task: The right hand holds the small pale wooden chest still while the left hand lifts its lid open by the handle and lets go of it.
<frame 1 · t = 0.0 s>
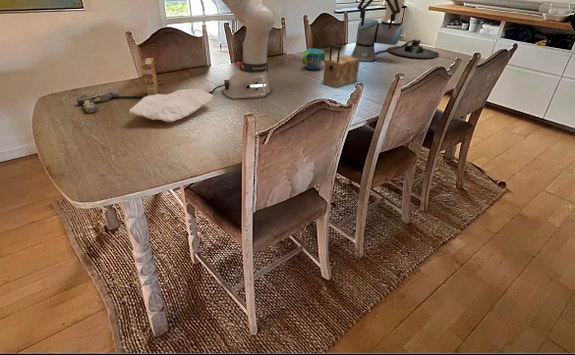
right hand: (375, 27, 178), 28 cm above the table, tool pointing down, fingers open, 13 cm apart
handgun: (101, 103, 156), on the table
dark round disc: (412, 52, 254), on the table
chest: (339, 82, 193), on the table
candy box: (153, 94, 167), on the table
lid: (343, 52, 184), point 15 cm above the table, hinge at 0.0°
crumpled cloth: (172, 113, 149), on the table
snack cup: (313, 68, 212), on the table
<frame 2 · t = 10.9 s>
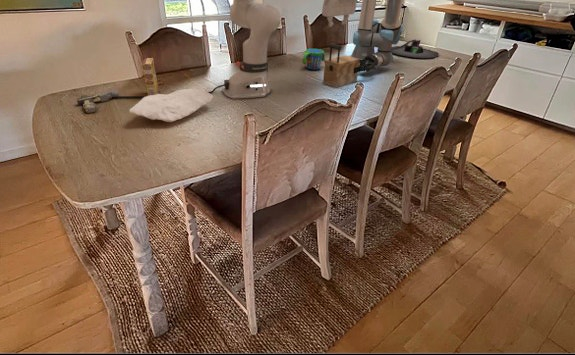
left hand: (337, 25, 173), 29 cm above the table, tool pointing down, fingers open, 8 cm apart
right hand: (347, 68, 192), 6 cm above the table, tool horizontal, fingers closed on chest, 9 cm apart
chest: (339, 82, 193), on the table, touching right hand
everything else where it was.
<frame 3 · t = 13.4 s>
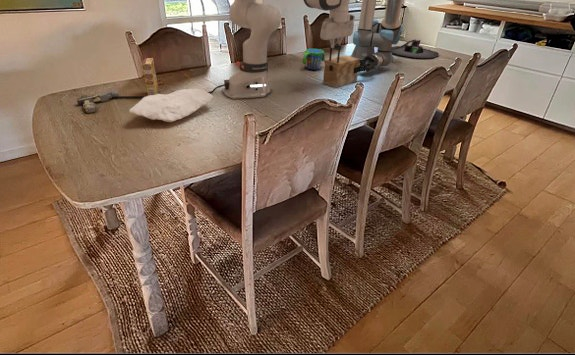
left hand: (335, 47, 179), 19 cm above the table, tool pointing down, fingers closed on lid, 2 cm apart
right hand: (347, 68, 192), 7 cm above the table, tool horizontal, fingers closed on chest, 9 cm apart
chest: (339, 82, 193), on the table, touching right hand
lid: (343, 52, 184), point 15 cm above the table, hinge at 0.0°, touching left hand
everything else where it was.
when the right hand's fingers open (6 cm above the table, at t = 21.6 s): chest stays where it is, on the table.
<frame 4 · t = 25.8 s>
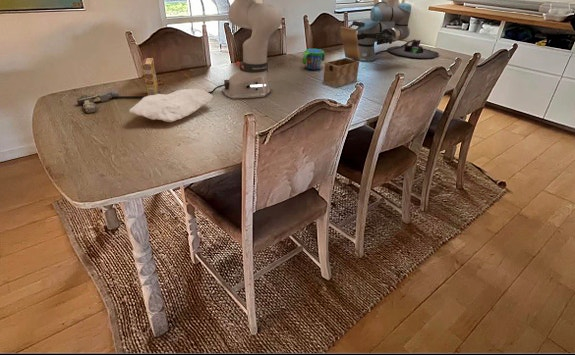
right hand: (366, 39, 193), 19 cm above the table, tool horizontal, fingers open, 13 cm apart
chest: (339, 82, 193), on the table
lid: (355, 39, 187), point 21 cm above the table, hinge at 66.7°
everything else where it was.
at the end: lid at +67° (first picture: +0°); the left hand is holding nothing; the right hand is holding nothing; chest tilted 0°; chest never tilted more than 4° during the clip; chest moved 0.1 cm from its start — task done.
